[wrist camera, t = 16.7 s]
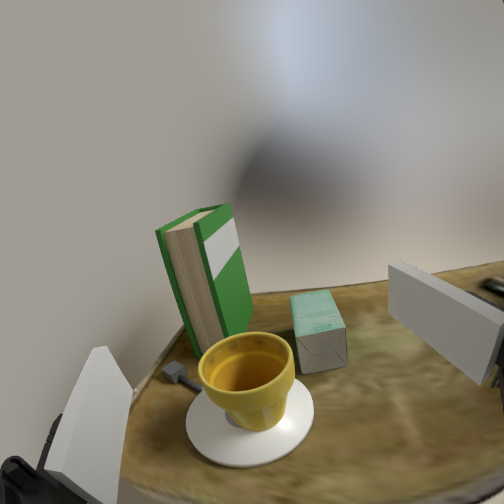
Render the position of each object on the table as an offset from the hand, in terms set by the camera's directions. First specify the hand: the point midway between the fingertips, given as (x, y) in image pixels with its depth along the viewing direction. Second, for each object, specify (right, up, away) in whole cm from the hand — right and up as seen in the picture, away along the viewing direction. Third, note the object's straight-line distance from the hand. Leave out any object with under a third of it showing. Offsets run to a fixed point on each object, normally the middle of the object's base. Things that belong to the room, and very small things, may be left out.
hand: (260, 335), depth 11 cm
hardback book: (-5, -13, +43) cm, 45 cm away
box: (+11, -13, +33) cm, 37 cm away
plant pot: (+1, -17, +20) cm, 26 cm away
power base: (-4, -18, +24) cm, 30 cm away
